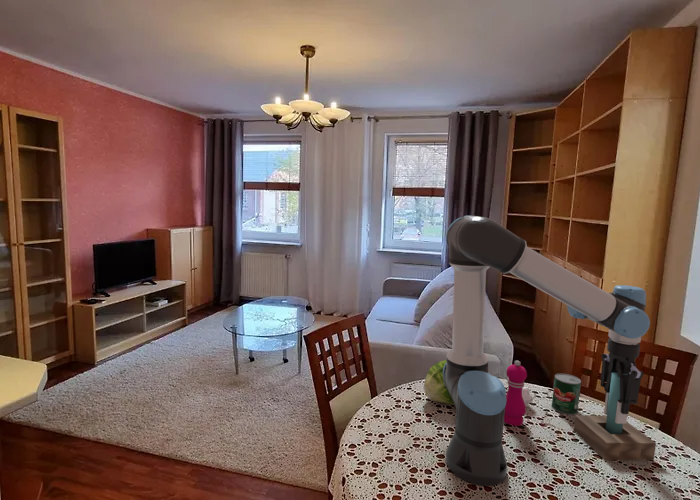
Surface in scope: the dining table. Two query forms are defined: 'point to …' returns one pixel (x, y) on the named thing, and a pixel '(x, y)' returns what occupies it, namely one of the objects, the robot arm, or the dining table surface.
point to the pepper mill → (515, 395)
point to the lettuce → (437, 384)
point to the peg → (613, 406)
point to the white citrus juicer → (526, 396)
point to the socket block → (614, 439)
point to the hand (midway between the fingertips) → (614, 418)
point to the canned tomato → (566, 394)
